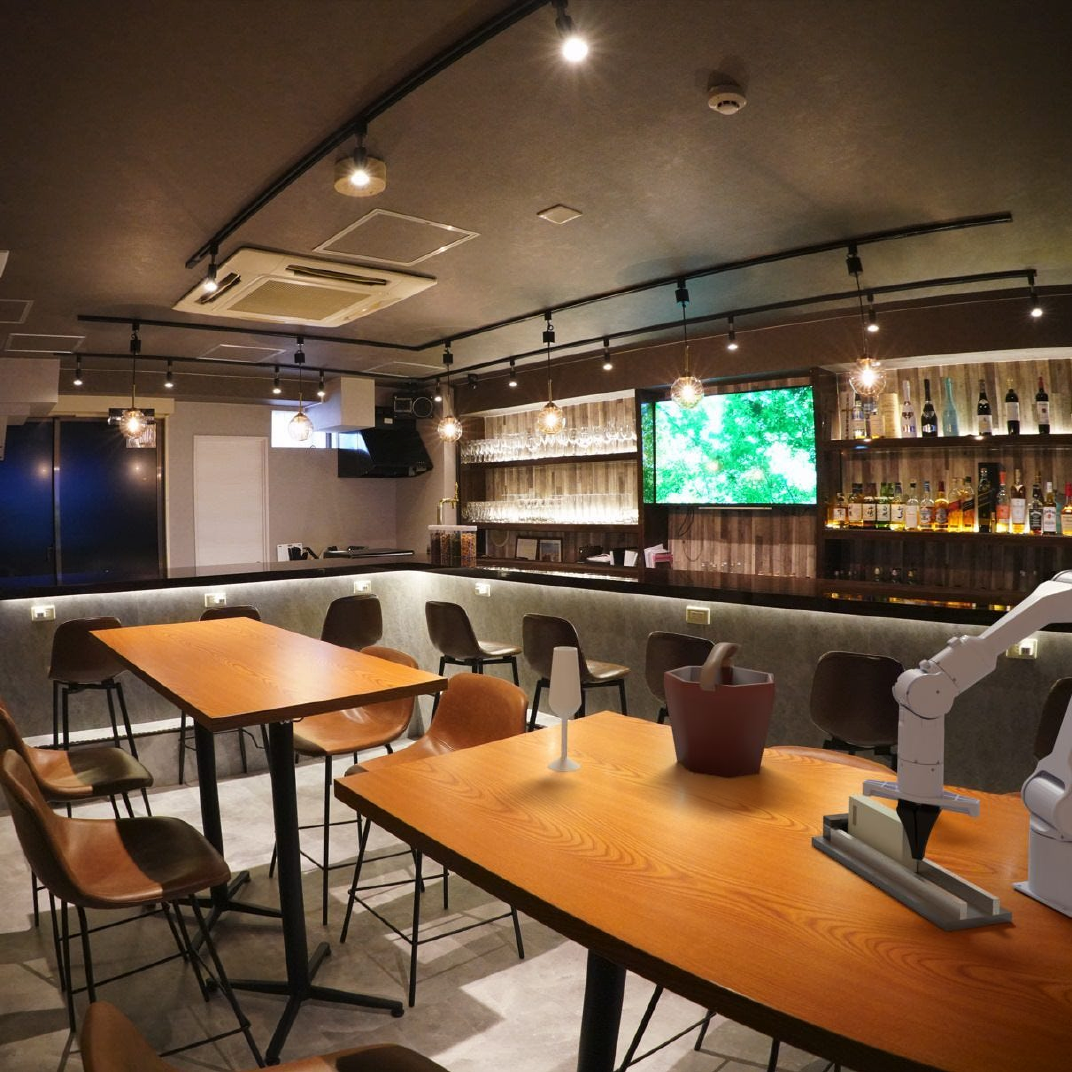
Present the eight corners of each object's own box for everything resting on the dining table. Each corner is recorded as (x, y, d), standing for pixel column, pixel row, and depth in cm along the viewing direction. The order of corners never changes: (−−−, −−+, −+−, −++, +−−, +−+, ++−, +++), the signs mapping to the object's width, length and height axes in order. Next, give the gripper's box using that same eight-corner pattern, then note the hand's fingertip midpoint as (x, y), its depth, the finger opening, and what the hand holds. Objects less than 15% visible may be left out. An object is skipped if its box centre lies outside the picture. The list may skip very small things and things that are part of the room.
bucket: (702, 743, 187) (704, 633, 186) (798, 762, 173) (800, 643, 172) (644, 768, 168) (646, 645, 167) (746, 791, 154) (749, 657, 153)
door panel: (916, 871, 116) (918, 822, 116) (901, 873, 116) (902, 823, 116) (862, 839, 128) (863, 794, 128) (847, 840, 127) (848, 795, 127)
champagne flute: (543, 769, 166) (545, 650, 165) (552, 760, 172) (554, 645, 172) (576, 772, 164) (577, 652, 163) (584, 763, 170) (585, 647, 170)
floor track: (1011, 921, 105) (1012, 887, 105) (946, 931, 102) (947, 896, 102) (866, 838, 132) (866, 811, 132) (811, 844, 129) (812, 816, 129)
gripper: (984, 761, 112) (982, 860, 113) (872, 743, 121) (870, 835, 121) (976, 774, 107) (973, 878, 107) (859, 754, 115) (857, 851, 115)
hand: (918, 857), depth 114 cm, fingers closed
